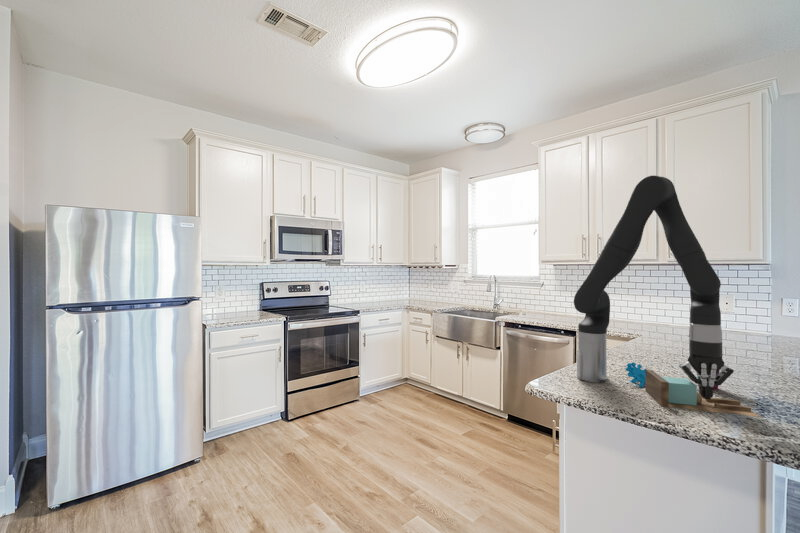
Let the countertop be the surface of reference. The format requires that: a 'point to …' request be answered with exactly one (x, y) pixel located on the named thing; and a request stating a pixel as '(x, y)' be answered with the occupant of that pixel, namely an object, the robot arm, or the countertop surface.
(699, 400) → the dowel
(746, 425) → the countertop surface
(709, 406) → the board
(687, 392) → the block
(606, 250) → the robot arm
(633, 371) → the gear
